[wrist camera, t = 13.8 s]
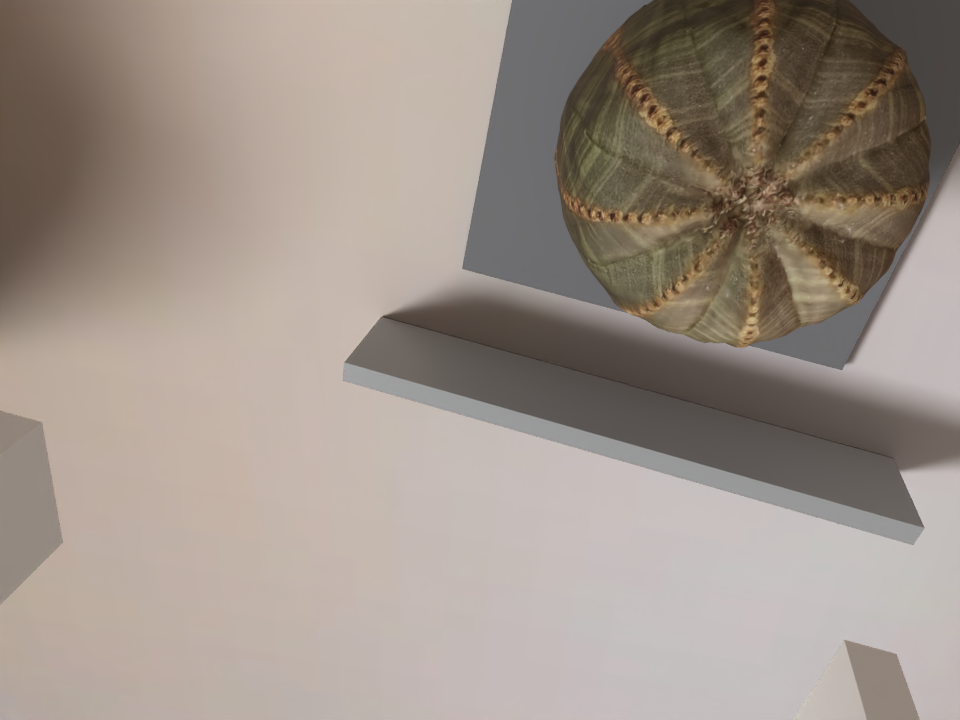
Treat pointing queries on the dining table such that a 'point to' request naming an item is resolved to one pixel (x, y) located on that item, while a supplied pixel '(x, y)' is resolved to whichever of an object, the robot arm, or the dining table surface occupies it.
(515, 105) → the rest mat
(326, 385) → the dining table surface
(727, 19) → the ribbed globe cactus
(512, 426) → the acrylic wall
